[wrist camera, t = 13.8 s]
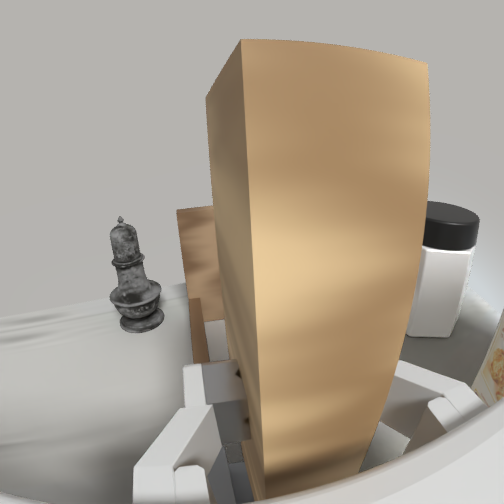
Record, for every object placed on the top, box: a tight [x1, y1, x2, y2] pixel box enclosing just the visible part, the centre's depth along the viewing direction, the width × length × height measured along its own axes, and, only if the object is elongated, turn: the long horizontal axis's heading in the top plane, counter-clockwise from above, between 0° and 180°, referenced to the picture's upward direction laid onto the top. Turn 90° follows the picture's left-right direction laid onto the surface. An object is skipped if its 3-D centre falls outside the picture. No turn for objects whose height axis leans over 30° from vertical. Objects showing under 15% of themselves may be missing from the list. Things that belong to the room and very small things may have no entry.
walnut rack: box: [177, 206, 225, 364], centre depth 27 cm, size 13×13×12 cm
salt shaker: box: [110, 216, 164, 333], centre depth 32 cm, size 6×6×12 cm
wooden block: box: [206, 39, 430, 501], centre depth 9 cm, size 2×6×16 cm, turn 11°
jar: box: [406, 201, 480, 337], centre depth 29 cm, size 9×8×12 cm
